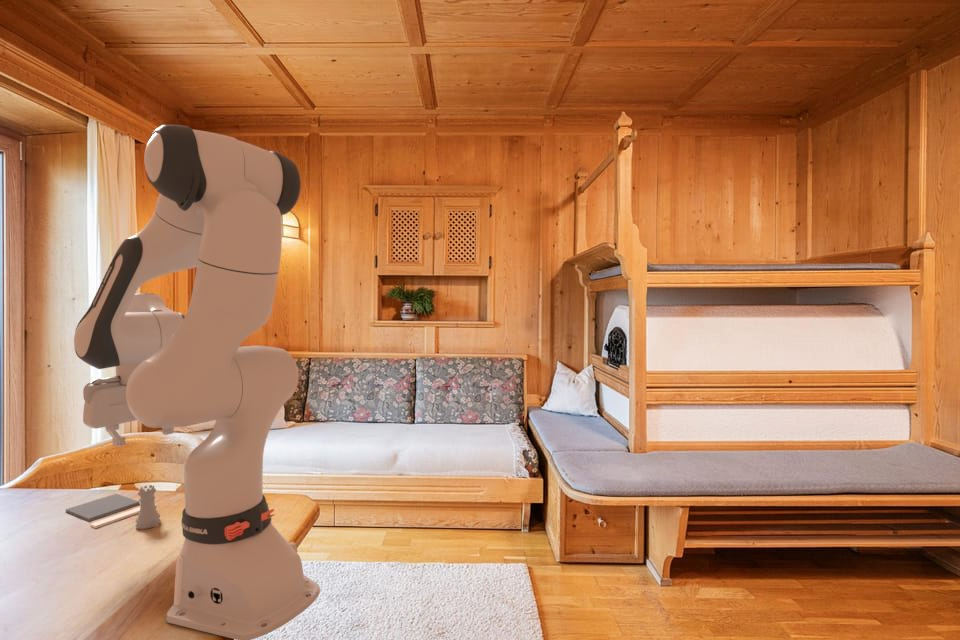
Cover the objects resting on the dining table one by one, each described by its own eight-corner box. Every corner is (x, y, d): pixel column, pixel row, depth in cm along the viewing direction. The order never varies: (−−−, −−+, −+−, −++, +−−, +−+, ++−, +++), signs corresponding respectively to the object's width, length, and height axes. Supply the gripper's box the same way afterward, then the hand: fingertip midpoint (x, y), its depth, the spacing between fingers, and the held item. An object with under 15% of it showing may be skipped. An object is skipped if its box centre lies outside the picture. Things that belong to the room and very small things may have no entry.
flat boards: (156, 506, 114) (156, 504, 114) (95, 528, 103) (95, 525, 103) (120, 494, 121) (120, 492, 121) (60, 513, 110) (60, 511, 110)
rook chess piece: (148, 531, 102) (146, 492, 101) (129, 529, 103) (128, 490, 102) (166, 521, 106) (164, 484, 106) (148, 519, 107) (146, 482, 107)
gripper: (91, 382, 92) (94, 456, 93) (199, 367, 110) (201, 430, 111) (74, 379, 95) (77, 450, 96) (182, 365, 113) (184, 426, 114)
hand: (144, 439), depth 104 cm, fingers open, 8 cm apart
